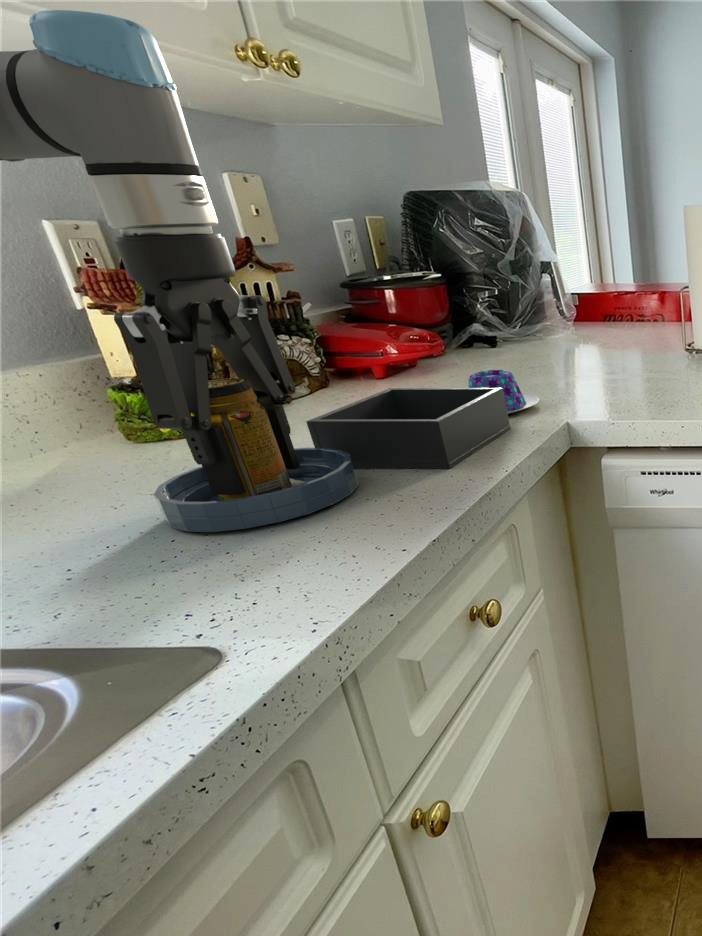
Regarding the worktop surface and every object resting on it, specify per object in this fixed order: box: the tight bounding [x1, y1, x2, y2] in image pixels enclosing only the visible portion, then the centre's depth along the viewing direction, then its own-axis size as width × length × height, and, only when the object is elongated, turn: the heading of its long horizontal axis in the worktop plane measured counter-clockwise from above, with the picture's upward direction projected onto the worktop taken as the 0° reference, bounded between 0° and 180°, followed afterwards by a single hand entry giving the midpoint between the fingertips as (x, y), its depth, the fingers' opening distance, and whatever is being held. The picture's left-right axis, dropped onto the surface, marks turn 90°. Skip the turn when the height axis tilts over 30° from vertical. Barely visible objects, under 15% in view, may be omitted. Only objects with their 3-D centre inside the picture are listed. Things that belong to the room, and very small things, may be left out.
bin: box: [305, 387, 512, 470], centre depth 87 cm, size 16×16×6 cm
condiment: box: [191, 377, 307, 500], centre depth 70 cm, size 7×8×12 cm
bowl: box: [153, 447, 359, 533], centre depth 72 cm, size 16×16×3 cm
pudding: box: [467, 369, 540, 415], centre depth 104 cm, size 12×12×5 cm
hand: (258, 479), depth 71 cm, fingers open, 7 cm apart
